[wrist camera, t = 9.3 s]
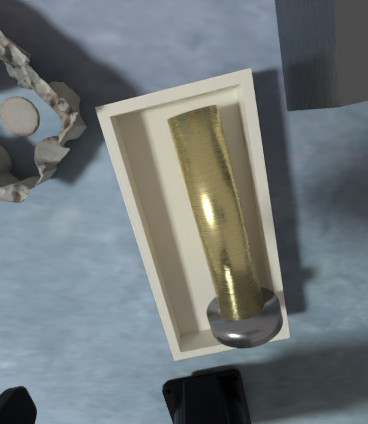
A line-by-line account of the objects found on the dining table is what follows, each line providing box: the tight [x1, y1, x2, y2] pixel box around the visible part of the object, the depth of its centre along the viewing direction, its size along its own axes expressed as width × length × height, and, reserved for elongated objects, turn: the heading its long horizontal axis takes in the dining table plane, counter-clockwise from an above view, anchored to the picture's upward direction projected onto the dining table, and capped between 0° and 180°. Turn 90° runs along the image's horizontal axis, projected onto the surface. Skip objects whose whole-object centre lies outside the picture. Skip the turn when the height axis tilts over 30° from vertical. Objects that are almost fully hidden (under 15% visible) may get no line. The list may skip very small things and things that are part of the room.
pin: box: [167, 105, 283, 348], centre depth 17 cm, size 13×5×5 cm, turn 15°
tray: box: [95, 68, 290, 361], centre depth 18 cm, size 17×8×2 cm, turn 13°
